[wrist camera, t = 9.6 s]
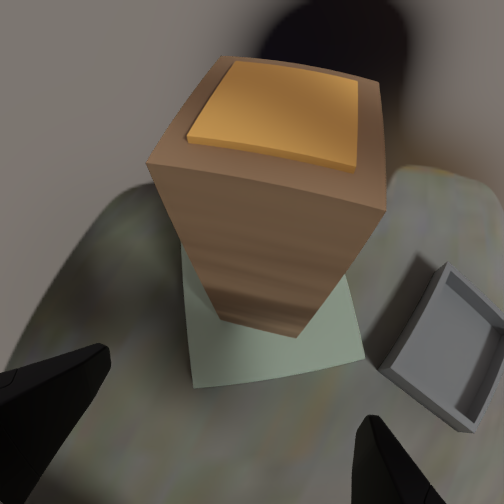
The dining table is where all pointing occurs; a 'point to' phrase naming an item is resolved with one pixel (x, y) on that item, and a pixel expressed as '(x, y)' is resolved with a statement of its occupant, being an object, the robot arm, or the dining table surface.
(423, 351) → the grey square tray
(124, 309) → the dining table surface
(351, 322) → the sage pad
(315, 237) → the walnut box
